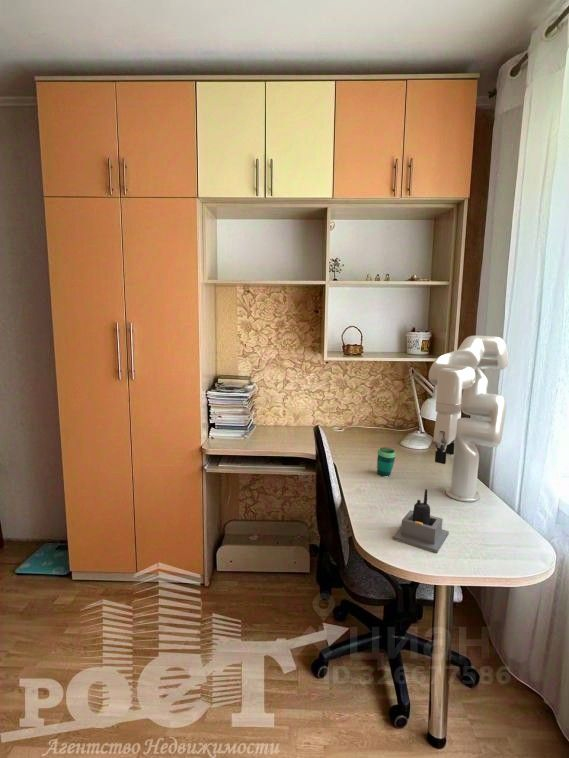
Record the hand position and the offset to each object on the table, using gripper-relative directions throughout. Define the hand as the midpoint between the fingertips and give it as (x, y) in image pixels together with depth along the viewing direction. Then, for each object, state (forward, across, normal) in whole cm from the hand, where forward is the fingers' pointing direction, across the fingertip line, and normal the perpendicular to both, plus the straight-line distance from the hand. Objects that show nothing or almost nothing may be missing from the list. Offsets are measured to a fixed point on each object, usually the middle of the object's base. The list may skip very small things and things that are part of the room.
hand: (444, 458), depth 141 cm
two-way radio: (+24, +8, -4) cm, 26 cm away
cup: (+27, -35, -34) cm, 56 cm away
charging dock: (+25, +8, -4) cm, 27 cm away
